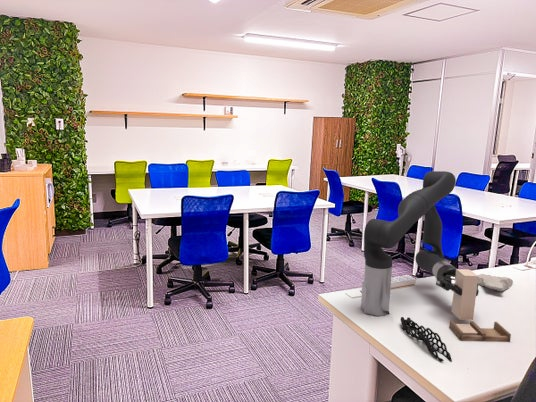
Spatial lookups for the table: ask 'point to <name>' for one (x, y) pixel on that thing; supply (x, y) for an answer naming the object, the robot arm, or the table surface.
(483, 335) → the wooden open-ended tray
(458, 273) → the beige wooden block
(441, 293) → the table surface
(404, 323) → the decorative element
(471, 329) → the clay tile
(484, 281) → the rock
